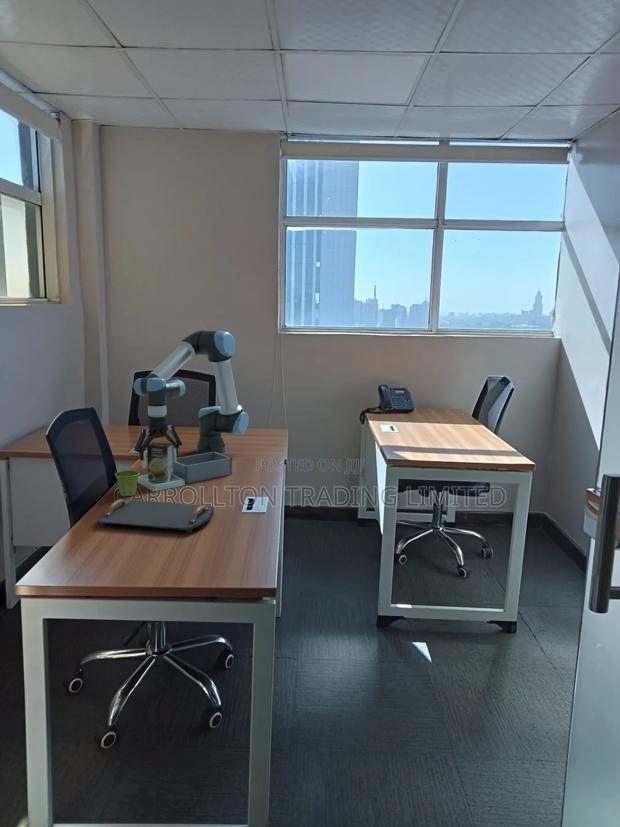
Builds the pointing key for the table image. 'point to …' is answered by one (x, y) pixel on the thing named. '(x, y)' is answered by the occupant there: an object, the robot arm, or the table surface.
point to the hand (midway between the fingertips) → (159, 465)
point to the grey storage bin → (202, 466)
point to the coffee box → (160, 462)
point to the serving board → (156, 514)
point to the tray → (161, 486)
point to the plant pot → (127, 482)
